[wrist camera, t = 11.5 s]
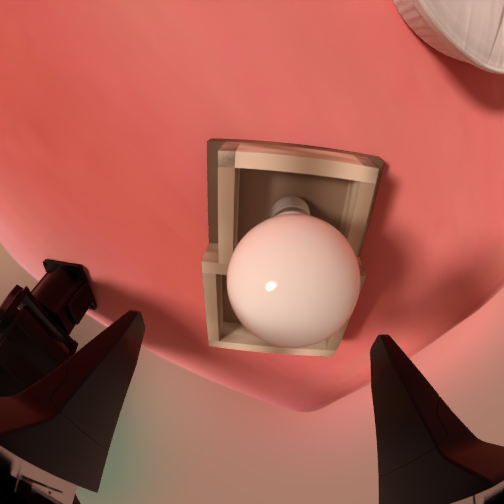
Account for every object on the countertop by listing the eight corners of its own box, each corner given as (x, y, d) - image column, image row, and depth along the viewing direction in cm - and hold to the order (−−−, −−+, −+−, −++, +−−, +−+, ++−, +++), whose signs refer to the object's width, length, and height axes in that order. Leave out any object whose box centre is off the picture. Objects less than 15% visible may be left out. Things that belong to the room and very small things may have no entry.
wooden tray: (215, 319, 28) (209, 346, 26) (210, 138, 18) (197, 149, 15) (330, 329, 28) (333, 356, 25) (379, 157, 18) (397, 172, 15)
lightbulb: (350, 216, 20) (396, 336, 11) (282, 260, 22) (279, 385, 13) (298, 148, 17) (319, 234, 8) (227, 203, 20) (183, 319, 11)
